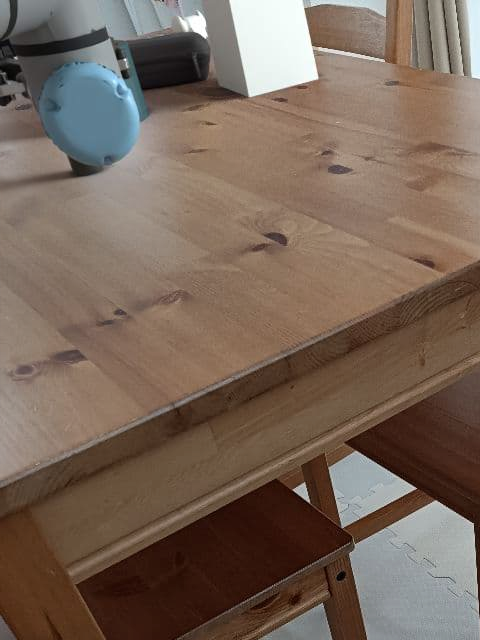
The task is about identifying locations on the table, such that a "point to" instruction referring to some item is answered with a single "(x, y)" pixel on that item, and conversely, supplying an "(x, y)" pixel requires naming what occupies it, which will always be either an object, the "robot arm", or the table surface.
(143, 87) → the glasses case
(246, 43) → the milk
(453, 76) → the table surface
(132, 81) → the jar
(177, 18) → the elephant figurine
